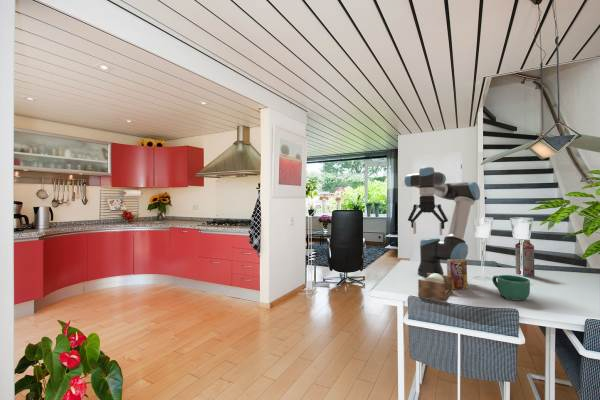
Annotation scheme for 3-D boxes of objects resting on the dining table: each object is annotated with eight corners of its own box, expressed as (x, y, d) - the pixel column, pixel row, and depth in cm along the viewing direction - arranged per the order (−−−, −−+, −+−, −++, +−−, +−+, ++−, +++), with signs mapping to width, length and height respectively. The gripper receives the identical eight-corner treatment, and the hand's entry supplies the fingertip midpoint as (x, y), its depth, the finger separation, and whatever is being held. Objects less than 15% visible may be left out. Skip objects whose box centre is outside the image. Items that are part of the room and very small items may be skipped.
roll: (430, 289, 155) (426, 274, 156) (446, 287, 151) (442, 272, 152) (424, 295, 145) (420, 279, 147) (441, 293, 141) (436, 277, 142)
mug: (537, 301, 135) (536, 280, 135) (514, 303, 133) (514, 282, 133) (505, 290, 152) (505, 272, 152) (484, 292, 149) (484, 273, 149)
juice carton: (534, 276, 180) (533, 240, 181) (523, 276, 180) (523, 240, 181) (526, 273, 187) (525, 239, 187) (515, 273, 187) (515, 239, 187)
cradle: (418, 296, 144) (418, 279, 144) (427, 287, 159) (427, 272, 159) (444, 300, 137) (444, 283, 137) (452, 291, 151) (452, 275, 151)
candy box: (463, 287, 159) (462, 258, 159) (467, 289, 155) (467, 260, 155) (446, 287, 159) (446, 259, 159) (451, 289, 155) (450, 260, 155)
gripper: (401, 196, 165) (402, 233, 164) (450, 194, 149) (451, 236, 149) (406, 196, 170) (406, 232, 170) (453, 195, 155) (454, 235, 155)
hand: (427, 234), depth 160 cm, fingers open, 13 cm apart
